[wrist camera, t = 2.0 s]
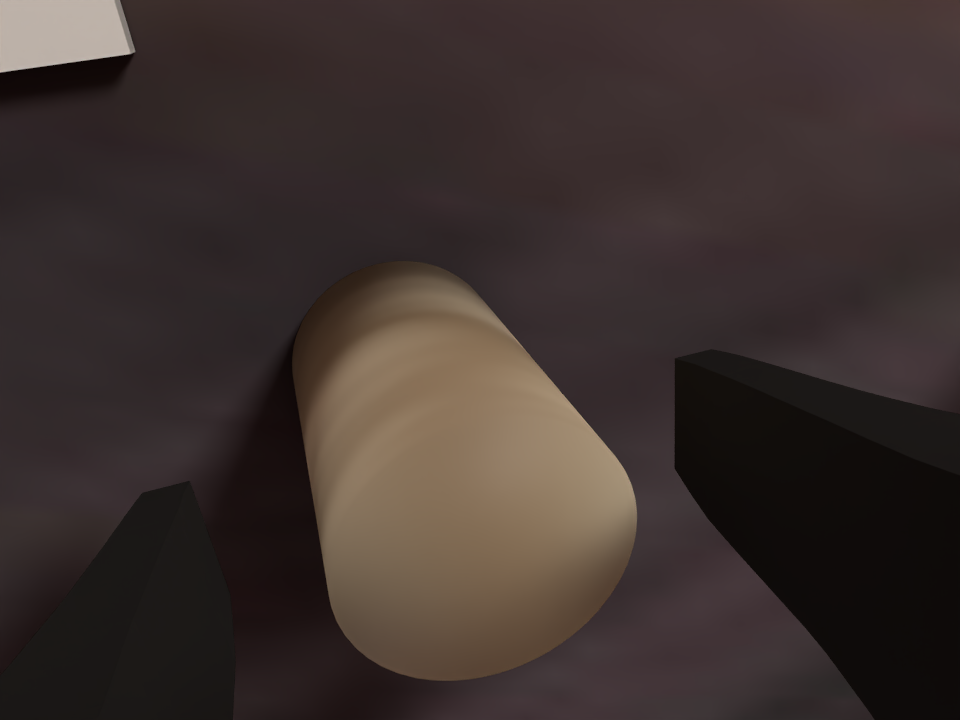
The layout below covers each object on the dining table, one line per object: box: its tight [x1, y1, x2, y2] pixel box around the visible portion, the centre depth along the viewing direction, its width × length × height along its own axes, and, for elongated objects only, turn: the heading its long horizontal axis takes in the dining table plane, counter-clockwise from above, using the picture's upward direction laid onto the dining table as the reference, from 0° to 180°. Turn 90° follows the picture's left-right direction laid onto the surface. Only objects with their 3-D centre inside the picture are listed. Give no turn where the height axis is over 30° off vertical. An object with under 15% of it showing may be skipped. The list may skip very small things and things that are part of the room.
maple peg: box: [292, 261, 637, 681], centre depth 12 cm, size 4×4×6 cm
